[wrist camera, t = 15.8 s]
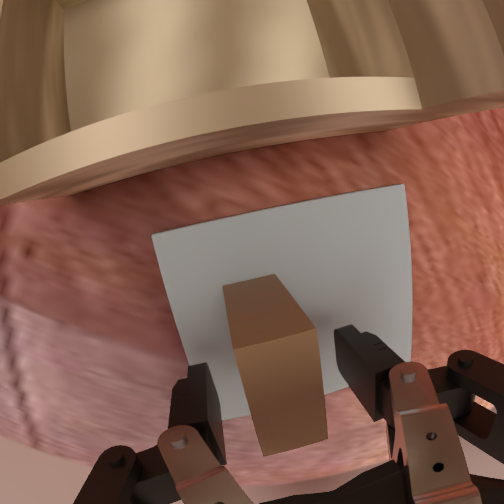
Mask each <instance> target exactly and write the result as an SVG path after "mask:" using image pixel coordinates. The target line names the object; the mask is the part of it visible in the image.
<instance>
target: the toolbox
mask: <svg viewBox="0 0 504 504" xmlns="http://www.w3.org/2000/svg"><path fill="white" fill-rule="evenodd" d="M503 107H504V0H0V205H3V204H9V203H16V202H23V201H30V200H38V199H45V198H54V197H62V196H71V195H74V194H77V193H80V192H83V191H86V190H89V189H92V188H96V187H99V186H102V185H105V184H109V183H112V182H115V181H119V180H122V179H126V178H129V177H133V176H136V175H140V174H144V173H147V172H151V171H155V170H159V169H163V168H167V167H171V166H175V165H179V164H183V163H187V162H191V161H196V160H200V159H205V158H209V157H214V156H219V155H223V154H228V153H233V152H238V151H243V150H249V149H254V148H260V147H265V146H271V145H277V144H283V143H289V142H296V141H303V140H309V139H317V138H324V137H332V136H340V135H349V134H358V133H369V132H380V131H387V130H391V129H396V128H400V127H404V126H408V125H413V124H417V123H422V122H427V121H431V120H436V119H441V118H446V117H451V116H456V115H461V114H467V113H472V112H478V111H484V110H490V109H496V108H503Z"/></svg>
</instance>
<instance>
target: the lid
mask: <svg viewBox="0 0 504 504" xmlns="http://www.w3.org/2000/svg"><path fill="white" fill-rule="evenodd" d="M151 236H152V240H153V244H154V248H155V252H156V256H157V260H158V264H159V267H160V271H161V275H162V278H163V282H164V286H165V289H166V293H167V296H168V299H169V303H170V306H171V309H172V313H173V316H174V319H175V323H176V326H177V329H178V332H179V335H180V338H181V341H182V344H183V348H184V351H185V354H186V356H187V359H188V362H189V365H195V364H199V363H204V362H207V364H208V366H209V369H210V372H211V375H212V378H213V381H214V384H215V387H216V390H217V393H218V397H219V401H220V407H221V417H222V421H223V420H228V419H233V418H238V417H243V416H247V415H251V416H252V420H253V423H254V427H255V430H256V433H257V437H258V440H259V443H260V447H261V450H262V453H263V457H264V456H268V455H272V454H276V453H280V452H284V451H288V450H292V449H296V448H299V447H303V446H306V445H309V444H313V443H316V442H319V441H322V440H326V439H328V432H327V420H326V409H325V399H324V395H325V394H329V393H332V392H335V391H338V390H341V389H344V388H347V387H349V385H348V384H347V382H346V381H345V380H344V378H343V377H342V375H341V374H340V372H339V370H338V367H337V363H336V353H335V343H334V329H337V328H340V327H344V326H347V325H350V324H352V325H353V326H354V327H355V328H356V329H357V330H358V331H359V332H360V333H363V332H365V331H367V332H369V333H372V334H375V335H377V336H378V337H379V338H380V339H381V340H382V341H383V342H384V343H385V344H386V345H388V347H390V348H391V349H392V350H393V351H394V352H395V353H396V354H397V355H398V356H399V357H400V358H402V359H403V360H404V361H405V362H411V343H412V265H411V246H410V233H409V221H408V211H407V202H406V193H405V185H404V184H394V185H388V186H382V187H376V188H370V189H364V190H359V191H353V192H347V193H342V194H336V195H331V196H326V197H320V198H315V199H310V200H305V201H299V202H294V203H289V204H284V205H279V206H274V207H269V208H265V209H260V210H255V211H250V212H245V213H241V214H236V215H231V216H227V217H222V218H218V219H213V220H209V221H204V222H200V223H195V224H191V225H187V226H182V227H178V228H174V229H169V230H165V231H161V232H157V233H153V234H152V235H151Z"/></svg>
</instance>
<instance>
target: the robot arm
mask: <svg viewBox="0 0 504 504" xmlns="http://www.w3.org/2000/svg"><path fill="white" fill-rule="evenodd" d="M334 343H335V353H336V363H337V367H338V370H339V372H340V374H341V375H342V377H343V378H344V380H345V381H346V382H347V384H348V385H349V387H350V388H351V390H352V391H353V392H354V394H355V395H356V397H357V398H358V399H359V401H360V402H361V404H362V405H363V407H364V408H365V409H366V411H367V412H368V414H369V415H370V416H371V418H372V419H373V421H374V422H375V421H378V420H380V419H382V418H384V419H385V420H386V435H387V444H388V453H389V462H386V463H384V464H382V465H379V466H377V467H375V468H372V469H370V470H368V471H365V472H363V473H361V474H360V475H358V476H357V477H355V478H353V479H352V480H351V481H349V482H347V483H345V484H344V485H342V486H340V487H339V488H337V489H336V490H333V491H330V492H323V493H313V494H304V495H303V494H302V495H293V496H289V497H285V498H281V499H277V500H273V501H268V502H263V503H259V504H504V480H501V479H495V478H489V477H483V476H477V475H472V474H469V471H468V467H467V464H466V460H465V457H464V453H463V450H462V447H461V443H460V440H459V437H458V435H459V436H461V437H462V438H464V439H465V440H467V441H468V442H470V443H471V444H473V445H474V446H476V447H478V448H479V449H481V450H482V451H484V452H485V453H487V454H488V455H490V456H492V457H493V458H495V459H496V460H498V461H500V462H501V463H503V464H504V364H502V363H499V362H497V361H495V360H493V359H490V358H488V357H486V356H484V355H481V354H479V353H477V352H474V351H471V350H460V351H457V352H454V353H453V354H451V355H450V356H449V358H448V362H447V366H444V367H439V368H435V369H429V370H427V368H426V367H425V366H424V365H422V364H420V363H417V362H405V361H404V360H403V359H402V358H400V357H399V356H398V355H397V354H396V353H395V352H394V351H393V350H392V349H391V348H390V347H388V345H386V344H385V343H384V342H383V341H382V340H381V339H380V338H379V337H378V336H377V335H375V334H372V333H369V332H367V331H365V332H363V333H360V332H359V331H358V330H357V329H356V328H355V327H354V326H353V325H352V324H350V325H347V326H344V327H340V328H337V329H334ZM476 395H477V396H479V397H480V398H482V399H484V400H486V401H488V402H490V403H491V404H493V405H494V406H495V408H496V410H497V414H495V413H494V412H492V411H490V410H488V409H486V408H485V407H483V406H481V405H479V404H477V403H476V402H474V399H475V396H476ZM226 464H227V462H226V454H225V445H224V436H223V427H222V417H221V407H220V401H219V397H218V393H217V390H216V387H215V384H214V381H213V378H212V375H211V372H210V369H209V366H208V364H207V362H204V363H199V364H195V365H190V366H188V378H186V379H181V380H178V381H177V383H176V384H175V386H174V387H173V389H172V398H171V406H170V415H169V425H168V429H167V430H165V431H164V432H163V433H162V434H161V435H160V437H159V438H158V442H157V445H156V446H154V447H152V448H150V449H147V450H144V451H141V452H138V453H135V452H134V450H133V449H132V448H130V447H128V446H122V445H120V446H114V447H111V448H109V449H107V450H105V451H104V452H103V453H102V454H101V455H100V457H99V458H98V460H97V462H96V463H95V465H94V467H93V469H92V471H91V472H90V474H89V476H88V478H87V480H86V481H85V483H84V485H83V487H82V488H81V490H80V492H79V494H78V496H77V498H76V499H75V501H74V503H73V504H170V503H173V502H176V501H178V500H182V501H183V503H184V504H253V502H252V501H251V500H250V499H249V498H248V496H247V495H246V494H245V492H244V491H243V490H242V488H241V487H240V486H239V485H238V483H237V482H236V481H235V479H234V478H233V477H232V475H231V474H230V473H229V471H228V470H227V469H226V468H225V467H224V466H221V465H226Z"/></svg>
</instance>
